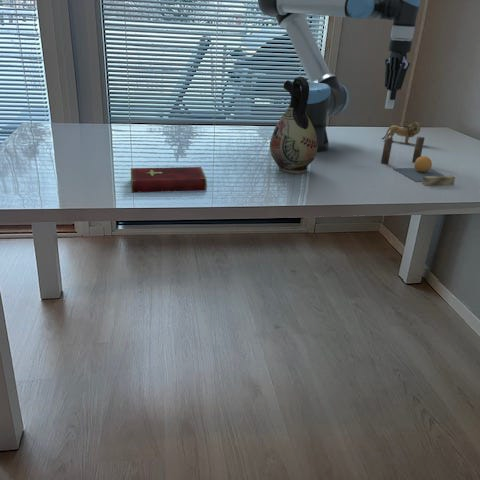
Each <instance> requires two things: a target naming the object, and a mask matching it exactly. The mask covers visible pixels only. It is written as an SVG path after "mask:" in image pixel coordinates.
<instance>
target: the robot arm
mask: <svg viewBox="0 0 480 480" xmlns="http://www.w3.org/2000/svg"><path fill="white" fill-rule="evenodd" d="M420 1H421V0H257V5H258V8H259V10H260V12H261V13H262V14H263V15H265V16H266V17H270V18H272V17H273V18H275V19H276V20H277V22H278V25H279V27H280V28H282V29H285V31H286V33H287V35H288V38H289V39H290V42H291V44H292V47H293V48H294V51H295V53H296V55H297V57H298V59H299V62H300V64H301V66H302V68H303V70H304V73H305V75H306V76H307V79H308V80H307V81H309V82H308V84H309V97H308V101H307V107H306V114H307V116H308V117H309V119H310V121H311V123H312V125H313V127H314V130H315V133H316V137H317V153H319V152H326V151H327V150H328V149H329V145H330V144H329V137H328V132H327V122H328V117H330V116H336V115H338V114H340V113H342V112H343V111H345V109H346V108H347V107H348V104H349V101H350V93H349V91H348V89H347V87H345V85H343V84H341V83H340V82H339V80H338V77H337V75H335V74H333V73H331V71H330V70H329V67H328V64H327V63H326V61H325V58H324V56H323V54H322V51H321V50H320V48H319V45H318V43H317V41H316V39H315V37H314V34H313V32H312V30H311V28H310V25H309V24H308V21H307V19H306V16H307V15H313V16H315V15H316V16H325V17H326V16H327V17H328V16H329V17H336V18H337V17H339V18H350V19H354V20H355V19H356V20H370V21H371V20H379V21H381V20H382V21H383V20H384V21H392V26H391V27H392V28H391V30H390V31H391V32H390V40H389V44H388V51H389V52H390V55H389V58H386V59H385V60H384V63H385V72H384V75H385V76H384V87H385V88H386V89H387V91H386V92H387V93H386V98H385V105H384V109H385V110H394V106H395V101H396V96H397V93H398V91H400V90H401V89H402V87H403V84H404V82H405V77H406V75H407V73H408V72H407V71H408V69H409V67H410V65H411V63H410V62H408V61H407V58H408V56H407V55H408V54H407V53H410V52H411V51H412V45H413V42H412V41H411V40H413V38H414V33H415V28H416V23H417V17H418V13H419V9H420V4H421V3H420Z"/></svg>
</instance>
